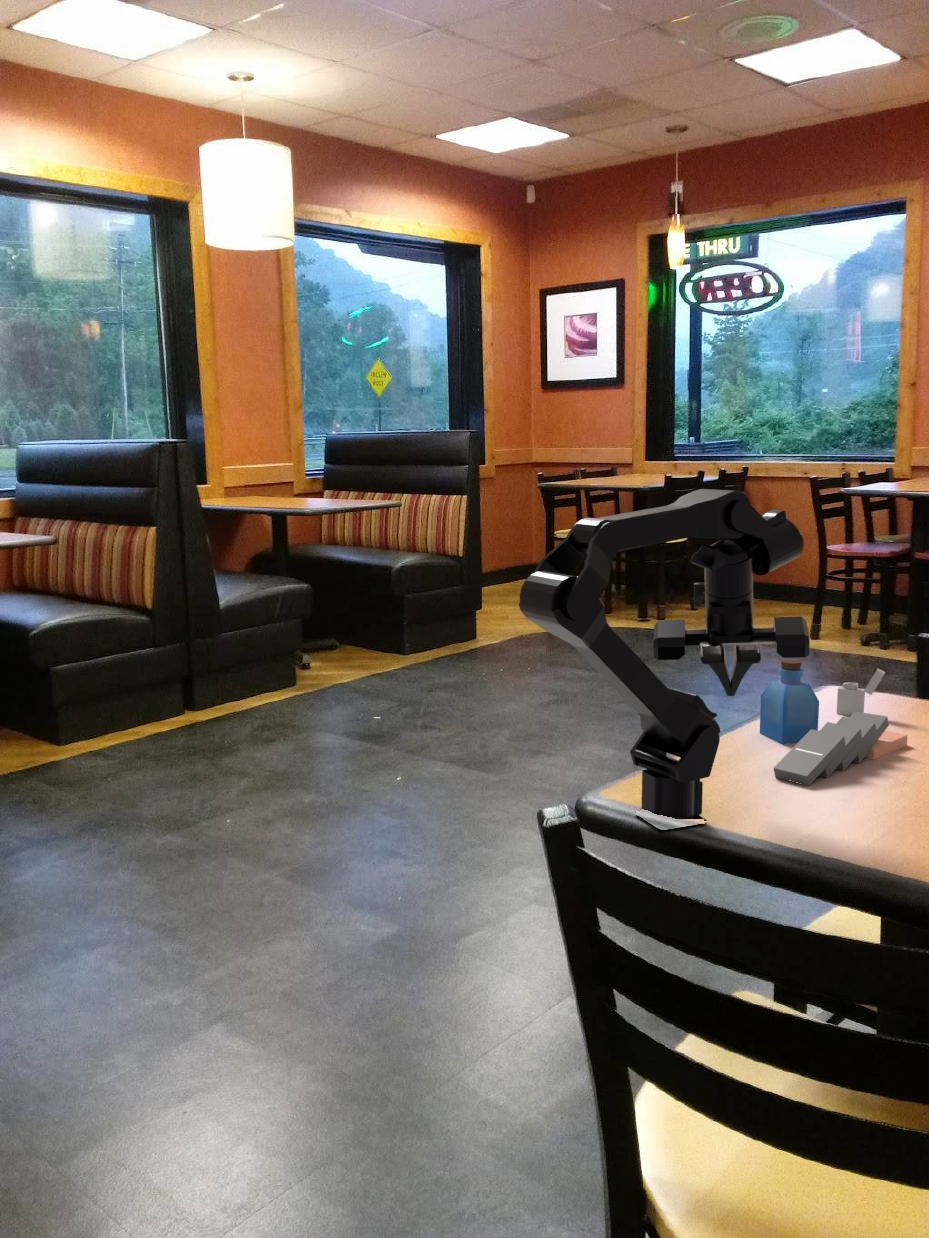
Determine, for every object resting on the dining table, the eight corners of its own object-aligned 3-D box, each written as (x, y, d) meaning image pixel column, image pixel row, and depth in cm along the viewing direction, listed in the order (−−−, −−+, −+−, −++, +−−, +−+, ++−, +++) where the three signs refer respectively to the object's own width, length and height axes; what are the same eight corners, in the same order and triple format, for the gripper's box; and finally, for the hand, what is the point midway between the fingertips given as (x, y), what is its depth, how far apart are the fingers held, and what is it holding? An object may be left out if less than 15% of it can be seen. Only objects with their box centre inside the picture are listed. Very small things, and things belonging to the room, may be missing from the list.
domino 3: (842, 761, 146) (875, 722, 152) (808, 754, 150) (842, 716, 155) (843, 771, 147) (876, 732, 152) (810, 763, 150) (843, 725, 156)
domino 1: (806, 776, 140) (844, 736, 146) (773, 767, 144) (811, 729, 149) (808, 786, 141) (845, 746, 146) (775, 777, 144) (812, 738, 150)
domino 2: (825, 768, 143) (860, 728, 149) (792, 760, 147) (827, 721, 152) (827, 778, 144) (862, 738, 150) (794, 769, 148) (829, 731, 153)
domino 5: (874, 748, 152) (907, 734, 158) (841, 741, 155) (875, 728, 162) (873, 759, 152) (906, 745, 159) (841, 752, 156) (875, 738, 162)
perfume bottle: (781, 744, 160) (784, 666, 158) (759, 733, 166) (762, 658, 164) (817, 740, 162) (820, 663, 160) (794, 730, 167) (797, 655, 165)
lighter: (836, 713, 177) (838, 666, 175) (837, 711, 178) (840, 664, 177) (881, 718, 174) (884, 670, 172) (882, 715, 175) (885, 668, 174)
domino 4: (858, 753, 149) (887, 716, 155) (824, 747, 153) (854, 711, 159) (859, 763, 150) (888, 725, 156) (826, 756, 153) (855, 720, 159)
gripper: (802, 555, 134) (800, 660, 142) (653, 561, 139) (659, 662, 146) (811, 597, 125) (808, 707, 132) (650, 602, 129) (656, 708, 137)
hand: (730, 694), depth 137 cm, fingers closed
